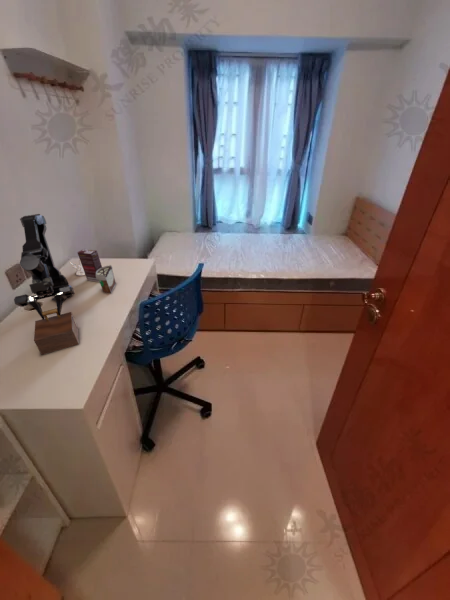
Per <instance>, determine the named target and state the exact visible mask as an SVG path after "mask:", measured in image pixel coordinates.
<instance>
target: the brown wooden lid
mask: <svg viewBox="0 0 450 600" xmlns="http://www.w3.org/2000/svg"><path fill="white" fill-rule="evenodd" d="M53 314H56V315H53ZM42 315H43V316H44V320H43V319H42V318H41V319H37V320H35V321H34V334H33V342H34V343H35V342H36V341H39V340H43V339H46V338H50V337H53V336H57V335H60V334H64V333H68V332H71V331H73V324H72V316H73V312H72V311H68V312H65V313H61V315H59V314H58V311H57V307H56V308H52V309H48V310H44V311H43V312H42ZM49 315H53V316H49ZM48 316H49V317H48Z"/></svg>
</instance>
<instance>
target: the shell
mask: <svg viewBox="0 0 450 600" xmlns="http://www.w3.org/2000/svg"><path fill="white" fill-rule="evenodd" d="M77 256H78V255H77ZM69 263H70V264H71V266H72V268H73V269H75V270H76V273H75V274H76V276H86V275H85V272H84V269H83V267H82V264H81V261H80V259H79V256H78V263H79V264H78V265H77V263H76V264H73V263H72V262H70V261H69ZM76 265H77V266H76Z"/></svg>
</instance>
